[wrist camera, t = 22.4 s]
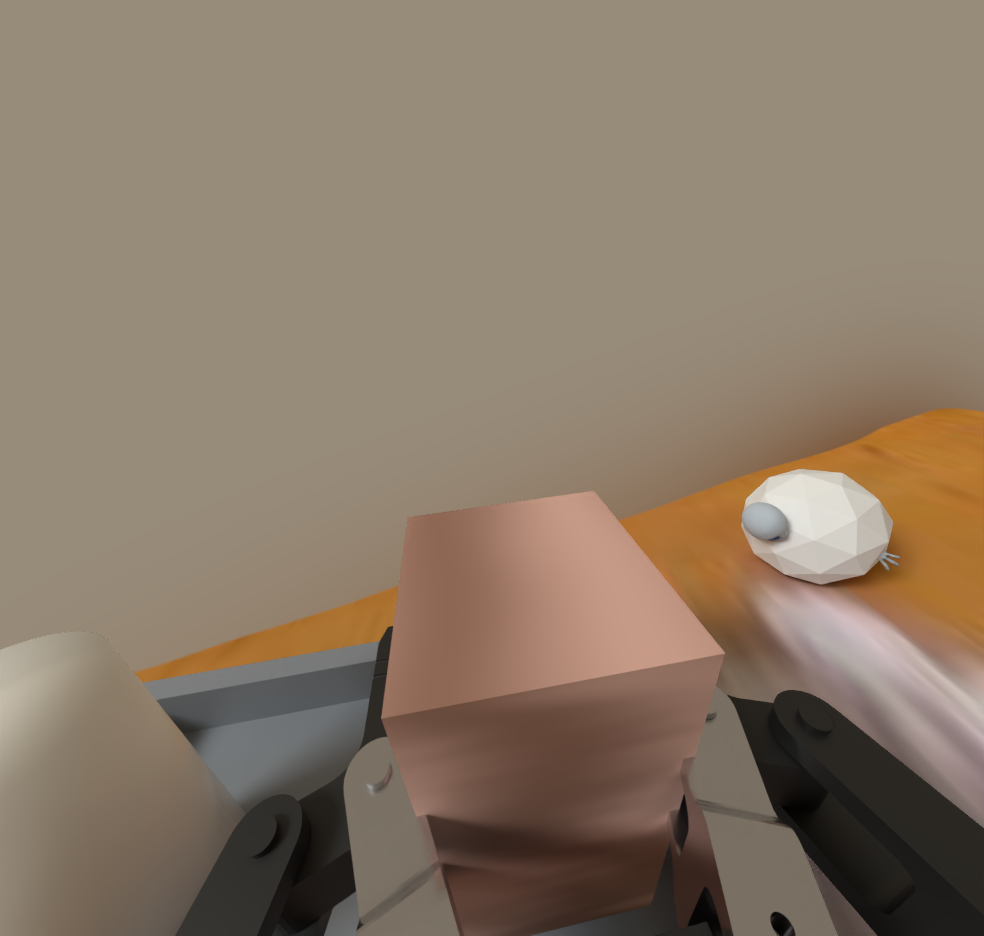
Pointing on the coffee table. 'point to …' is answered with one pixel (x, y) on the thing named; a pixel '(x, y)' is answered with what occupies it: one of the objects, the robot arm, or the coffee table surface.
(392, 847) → the robot arm
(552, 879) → the coral block
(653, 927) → the tray
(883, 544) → the alien figurine
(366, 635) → the coffee table surface
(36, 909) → the cream cylinder
